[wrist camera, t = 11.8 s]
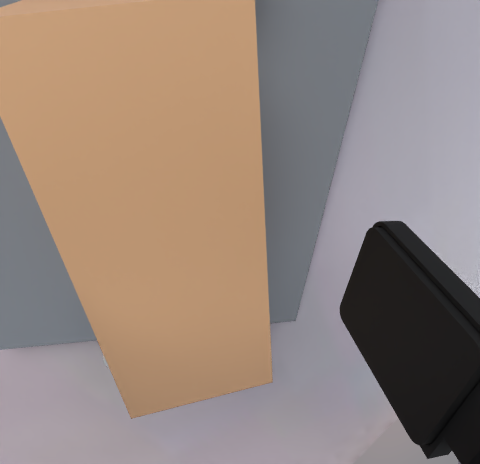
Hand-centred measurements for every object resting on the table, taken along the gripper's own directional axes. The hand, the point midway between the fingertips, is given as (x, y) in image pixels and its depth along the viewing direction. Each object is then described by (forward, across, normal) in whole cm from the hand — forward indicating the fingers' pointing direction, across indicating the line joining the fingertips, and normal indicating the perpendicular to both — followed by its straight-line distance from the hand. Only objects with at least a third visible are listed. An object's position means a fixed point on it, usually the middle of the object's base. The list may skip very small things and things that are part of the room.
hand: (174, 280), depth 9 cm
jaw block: (+8, 0, +1) cm, 8 cm away
